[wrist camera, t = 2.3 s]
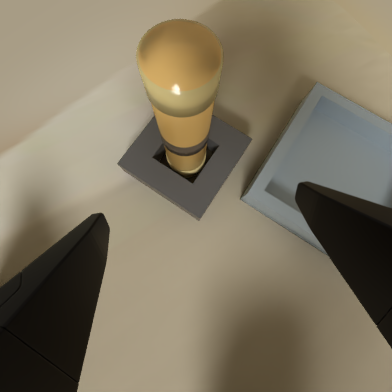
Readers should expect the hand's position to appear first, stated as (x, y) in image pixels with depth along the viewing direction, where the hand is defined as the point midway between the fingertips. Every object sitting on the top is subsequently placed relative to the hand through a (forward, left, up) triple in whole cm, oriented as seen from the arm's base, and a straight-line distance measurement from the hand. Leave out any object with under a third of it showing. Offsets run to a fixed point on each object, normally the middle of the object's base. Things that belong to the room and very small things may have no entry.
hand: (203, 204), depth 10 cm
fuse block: (+5, -5, -13) cm, 15 cm away
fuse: (+5, -5, -13) cm, 15 cm away
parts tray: (-10, -12, -13) cm, 21 cm away
